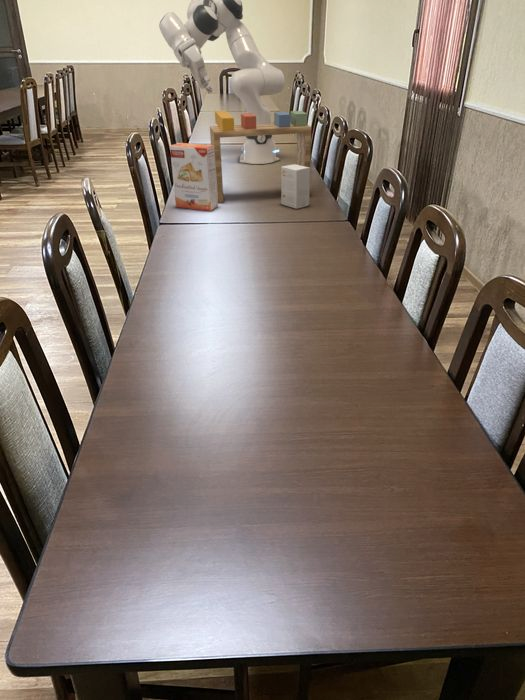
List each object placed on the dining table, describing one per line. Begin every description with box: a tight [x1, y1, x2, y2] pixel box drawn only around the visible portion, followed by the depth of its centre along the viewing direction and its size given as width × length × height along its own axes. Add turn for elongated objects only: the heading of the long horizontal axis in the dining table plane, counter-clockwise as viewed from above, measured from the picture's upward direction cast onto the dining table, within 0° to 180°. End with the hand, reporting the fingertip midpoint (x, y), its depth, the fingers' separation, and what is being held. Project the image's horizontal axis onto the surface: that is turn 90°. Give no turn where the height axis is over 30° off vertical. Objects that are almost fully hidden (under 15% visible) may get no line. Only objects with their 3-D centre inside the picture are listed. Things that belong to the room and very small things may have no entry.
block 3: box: [290, 110, 308, 127], centre depth 190 cm, size 8×4×4 cm, turn 11°
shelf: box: [209, 122, 312, 204], centre depth 195 cm, size 12×34×24 cm, turn 101°
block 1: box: [240, 112, 256, 129], centre depth 187 cm, size 8×4×4 cm, turn 11°
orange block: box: [214, 110, 235, 131], centre depth 189 cm, size 20×4×4 cm, turn 11°
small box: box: [280, 163, 311, 209], centre depth 185 cm, size 8×6×13 cm
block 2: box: [273, 111, 291, 127], centre depth 189 cm, size 8×4×4 cm, turn 11°
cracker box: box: [169, 142, 219, 212], centre depth 183 cm, size 14×6×21 cm, turn 68°
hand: (209, 86), depth 200 cm, fingers open, 8 cm apart
